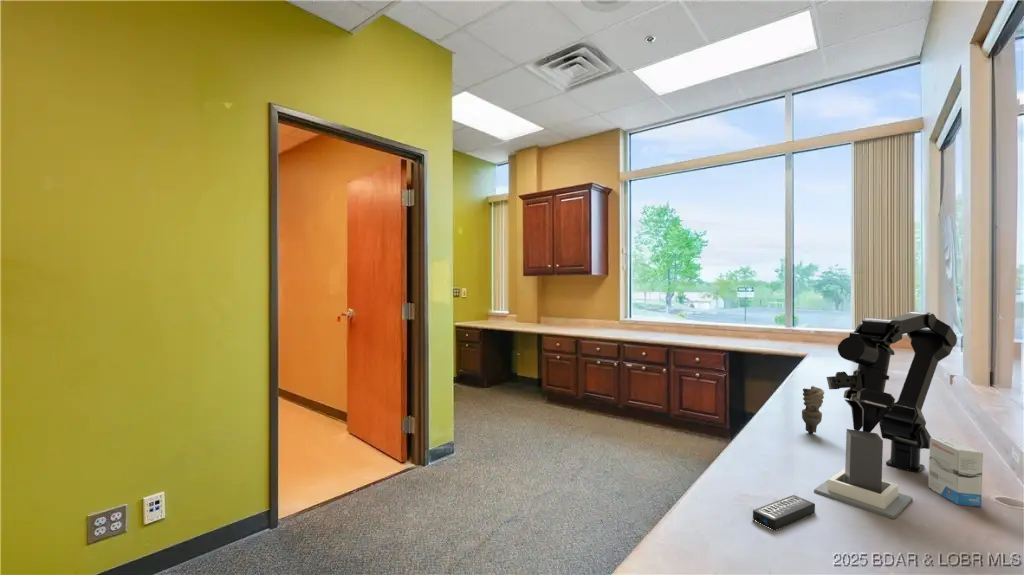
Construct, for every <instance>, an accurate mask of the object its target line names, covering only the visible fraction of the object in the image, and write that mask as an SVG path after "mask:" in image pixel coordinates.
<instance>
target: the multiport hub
mask: <svg viewBox="0 0 1024 575" xmlns="http://www.w3.org/2000/svg"><path fill="white" fill-rule="evenodd" d="M812 514H813V515H814V514H816V503H814V502H812V501H810V500H807V499H804V498H802V497H800V496H797V495H794V494H793V495H790V496H787V497H784V498H781V499H779V500H776V501H774V502H771V503H769V504H765V505H763V506H761V507H757V508H755V509H753V510H752V520H753V519H754V520H756V521H757V522H759V523H761V524H763V525H765V526H767V527H769V528H771V529H773V530H772V531H774V530H775V531H777V530H776V529H778V530H780V529H782V528H784V526H785V527H787V526H789V525H791V524H792V525H793V524H794V523H796V522H798V521H801V520H803V519H805V518H808V517H810V516H812ZM757 522H756V523H757ZM759 523H758V524H759ZM761 524H760V525H761ZM763 525H762V526H763ZM765 526H764V527H765ZM767 527H766V528H767ZM769 528H768V529H769ZM779 528H780V529H779ZM771 529H770V530H771Z"/></svg>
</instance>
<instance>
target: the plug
mask: <svg viewBox="0 0 1024 575" xmlns="http://www.w3.org/2000/svg"><path fill="white" fill-rule="evenodd" d="M845 437H846V440H845V468H844V469H845V483H847V484H850V485H853V486H856V487H860V488H863V489H866V490H869V491H872V492H876V493H879V494H881V487H882V480H883V476H882V475H883V455H884V454H883V452H884V451H883V450H884V449H883V448H884V447H883V446H884V440H883V438H882V437H881V436H880V435H879V434H878V433H876V432H872V431H871V432H864V431H863V430H860V431H857V430H854V429H850V428H849V429H848V428H847V429H846V436H845Z"/></svg>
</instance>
